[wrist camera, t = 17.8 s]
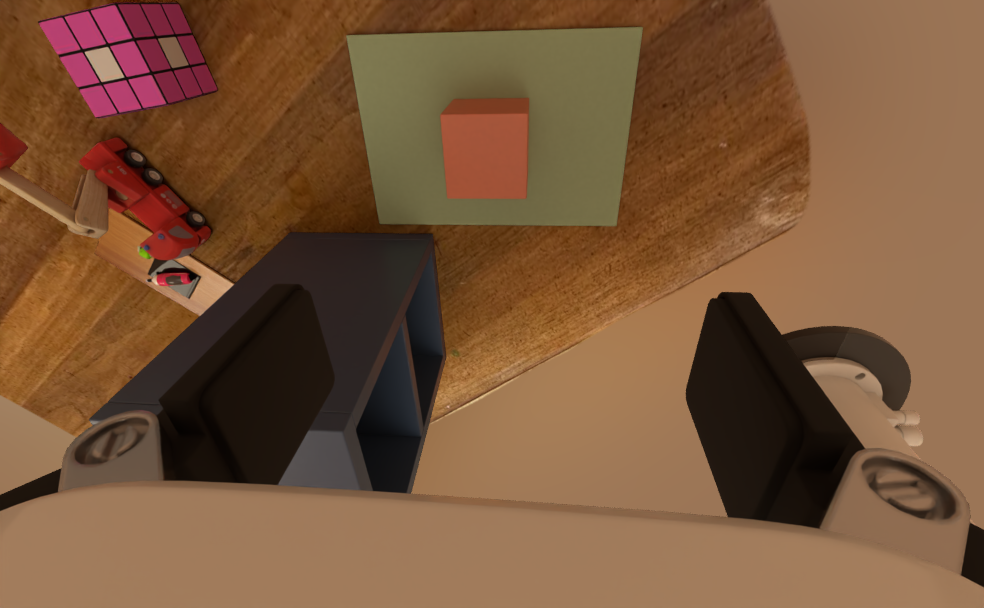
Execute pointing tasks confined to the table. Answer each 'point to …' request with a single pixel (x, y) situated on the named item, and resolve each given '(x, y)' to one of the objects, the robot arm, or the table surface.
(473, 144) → the toy block
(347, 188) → the table surface
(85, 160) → the toy fire truck
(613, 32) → the play mat
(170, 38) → the puzzle toy
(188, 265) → the board
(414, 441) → the shelf
